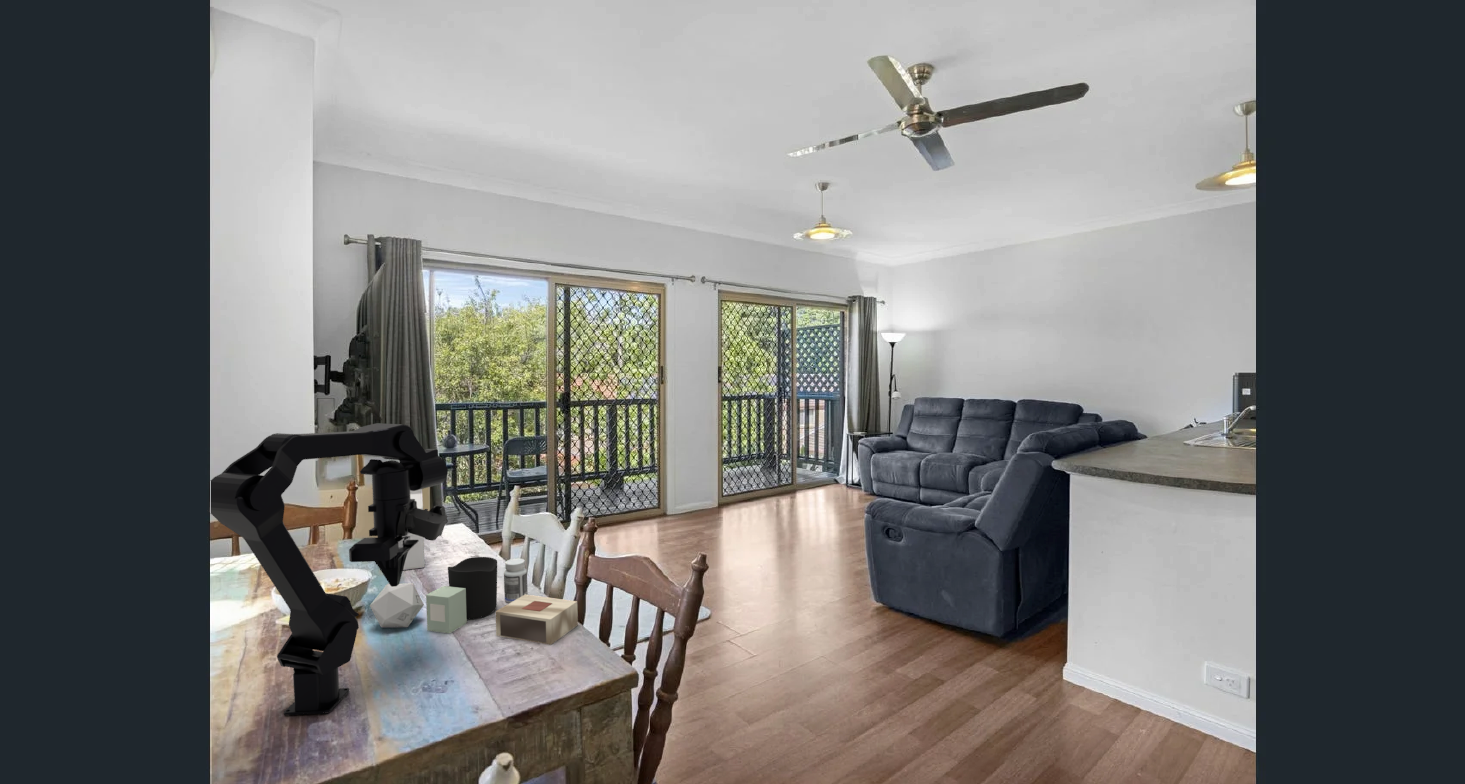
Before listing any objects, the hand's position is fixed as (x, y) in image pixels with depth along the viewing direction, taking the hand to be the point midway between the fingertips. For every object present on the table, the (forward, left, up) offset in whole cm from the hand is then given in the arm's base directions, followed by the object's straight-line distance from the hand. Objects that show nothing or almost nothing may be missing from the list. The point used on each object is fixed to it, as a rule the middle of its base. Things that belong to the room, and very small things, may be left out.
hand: (395, 585), depth 113 cm
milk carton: (+51, +18, -13) cm, 56 cm away
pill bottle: (+26, -14, -13) cm, 32 cm away
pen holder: (+20, -7, -13) cm, 25 cm away
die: (+15, +6, -13) cm, 21 cm away
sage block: (+13, -4, -13) cm, 19 cm away
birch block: (+6, -20, -11) cm, 23 cm away
